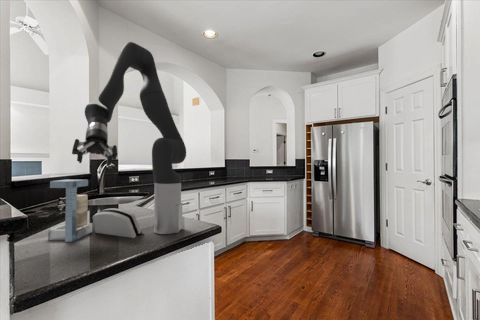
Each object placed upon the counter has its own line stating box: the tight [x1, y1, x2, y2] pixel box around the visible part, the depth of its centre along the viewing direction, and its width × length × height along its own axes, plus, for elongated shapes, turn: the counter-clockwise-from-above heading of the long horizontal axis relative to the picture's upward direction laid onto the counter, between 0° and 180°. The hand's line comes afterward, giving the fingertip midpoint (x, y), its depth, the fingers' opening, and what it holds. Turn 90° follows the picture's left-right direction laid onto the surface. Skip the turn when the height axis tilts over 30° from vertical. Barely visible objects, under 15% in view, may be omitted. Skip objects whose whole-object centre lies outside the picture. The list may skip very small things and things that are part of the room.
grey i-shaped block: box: [47, 179, 93, 243], centre depth 79 cm, size 9×11×18 cm
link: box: [76, 194, 89, 229], centre depth 90 cm, size 4×4×12 cm
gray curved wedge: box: [92, 207, 145, 239], centre depth 82 cm, size 17×5×10 cm, turn 71°
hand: (94, 163), depth 86 cm, fingers open, 8 cm apart
